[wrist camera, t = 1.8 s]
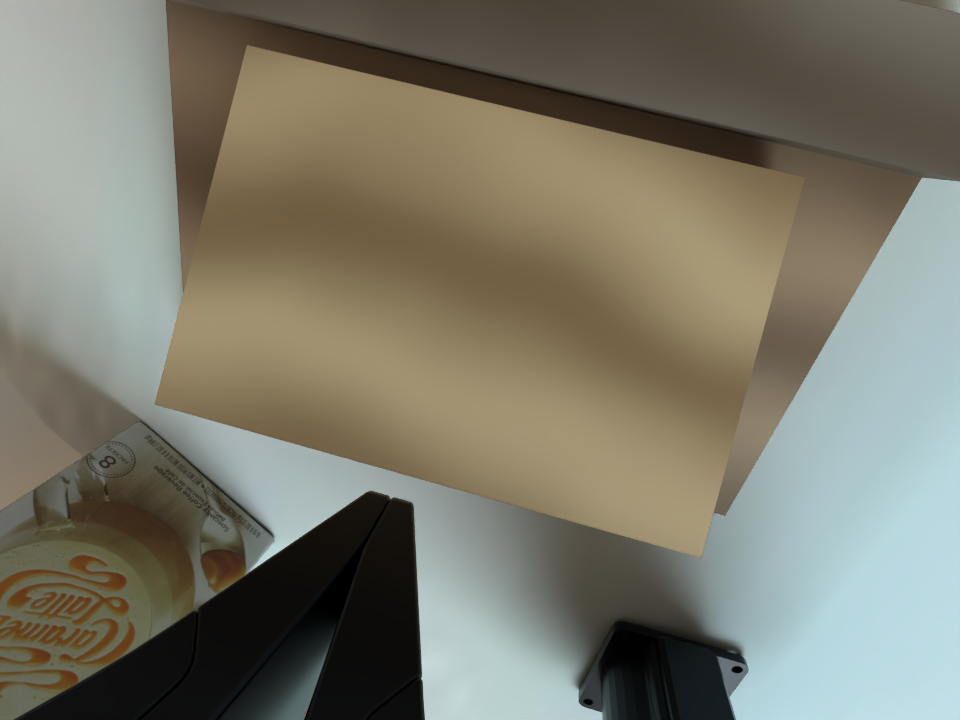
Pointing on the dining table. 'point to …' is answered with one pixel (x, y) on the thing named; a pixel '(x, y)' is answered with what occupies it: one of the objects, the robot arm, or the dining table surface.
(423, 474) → the tan rectangular panel
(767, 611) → the dining table surface
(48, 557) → the coffee box
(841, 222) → the floor board
